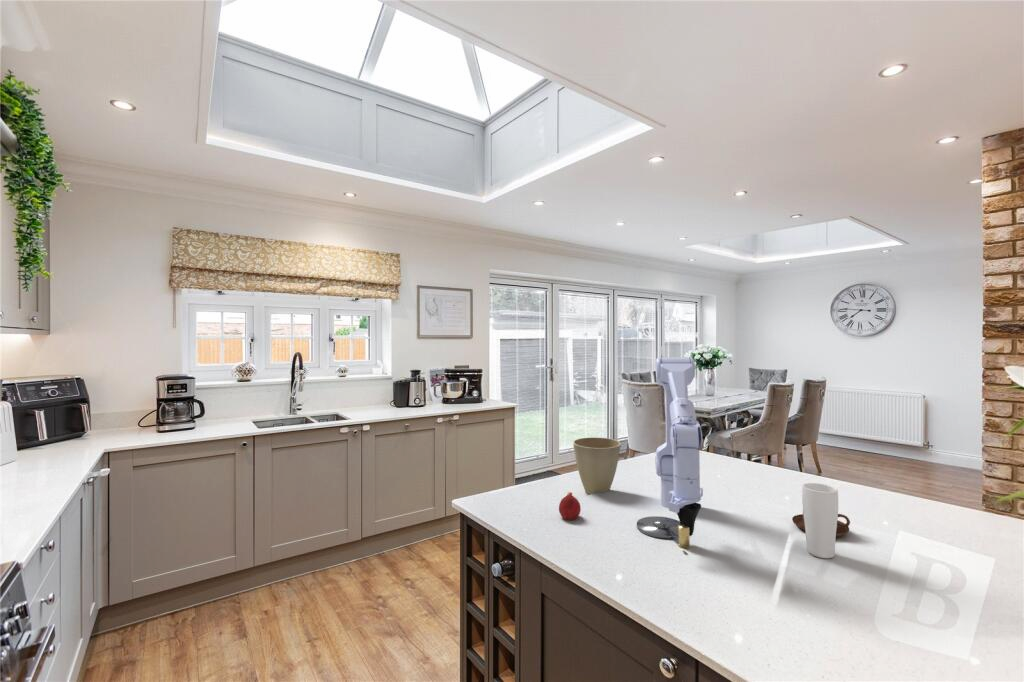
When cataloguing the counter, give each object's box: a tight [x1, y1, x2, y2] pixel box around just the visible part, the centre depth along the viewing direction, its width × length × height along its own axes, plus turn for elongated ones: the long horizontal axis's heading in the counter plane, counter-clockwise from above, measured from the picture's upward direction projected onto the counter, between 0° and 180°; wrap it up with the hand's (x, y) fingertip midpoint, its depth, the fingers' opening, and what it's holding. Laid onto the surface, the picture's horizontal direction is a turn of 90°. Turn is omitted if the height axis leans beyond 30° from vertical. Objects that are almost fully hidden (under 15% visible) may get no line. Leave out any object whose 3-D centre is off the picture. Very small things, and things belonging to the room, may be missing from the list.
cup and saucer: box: [792, 512, 851, 537], centre depth 118 cm, size 12×12×6 cm
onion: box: [558, 491, 582, 521], centre depth 125 cm, size 6×6×8 cm
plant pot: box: [572, 436, 621, 495], centre depth 149 cm, size 15×15×16 cm
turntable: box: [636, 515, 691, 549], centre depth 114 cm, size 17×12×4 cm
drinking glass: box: [801, 482, 839, 559], centre depth 105 cm, size 7×7×15 cm
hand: (687, 534), depth 108 cm, fingers closed
